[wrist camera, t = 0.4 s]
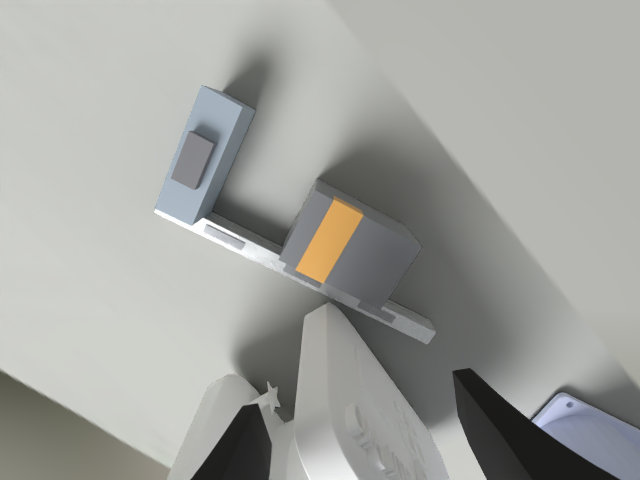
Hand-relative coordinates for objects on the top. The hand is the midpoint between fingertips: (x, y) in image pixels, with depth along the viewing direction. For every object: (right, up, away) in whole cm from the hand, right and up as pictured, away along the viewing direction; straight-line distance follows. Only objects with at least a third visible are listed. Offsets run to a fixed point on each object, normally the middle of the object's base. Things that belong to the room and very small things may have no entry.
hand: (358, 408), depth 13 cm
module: (0, +7, +8) cm, 11 cm away
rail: (-2, +5, +9) cm, 10 cm away
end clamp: (-7, +11, +7) cm, 15 cm away
